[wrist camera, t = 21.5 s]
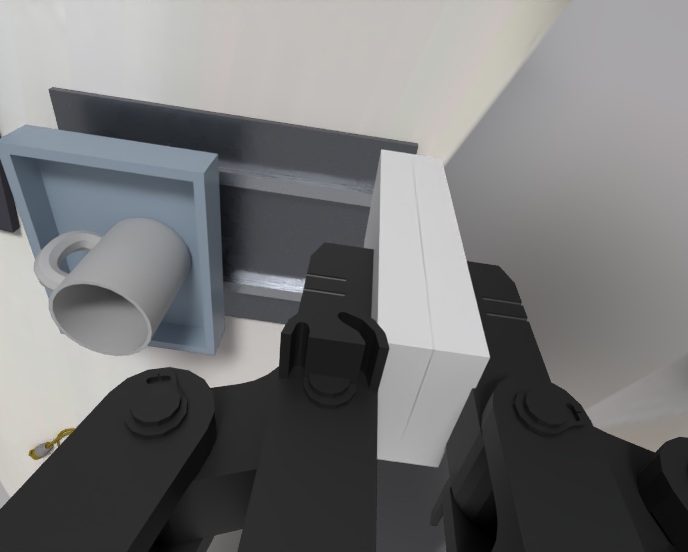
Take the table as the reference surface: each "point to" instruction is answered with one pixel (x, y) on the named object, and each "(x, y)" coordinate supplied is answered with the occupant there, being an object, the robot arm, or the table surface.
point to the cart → (126, 211)
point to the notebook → (7, 205)
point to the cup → (114, 283)
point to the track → (255, 188)
